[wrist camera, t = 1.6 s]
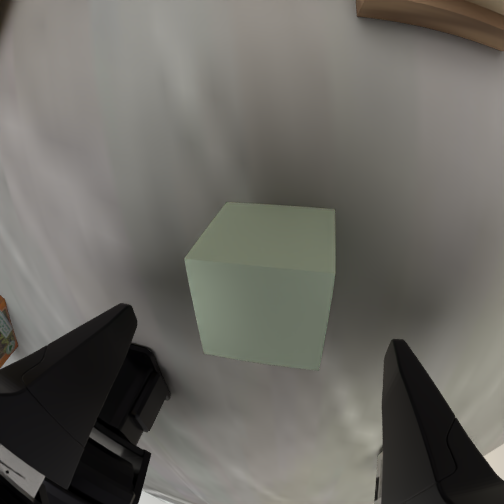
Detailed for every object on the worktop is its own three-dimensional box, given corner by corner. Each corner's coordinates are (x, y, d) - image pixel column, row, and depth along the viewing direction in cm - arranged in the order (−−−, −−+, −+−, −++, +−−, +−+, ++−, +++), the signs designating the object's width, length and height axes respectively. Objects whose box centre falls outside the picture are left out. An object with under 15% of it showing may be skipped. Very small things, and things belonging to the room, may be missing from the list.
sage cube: (234, 285, 15) (203, 353, 12) (227, 201, 13) (184, 258, 9) (325, 295, 14) (318, 370, 11) (334, 208, 12) (335, 273, 8)
